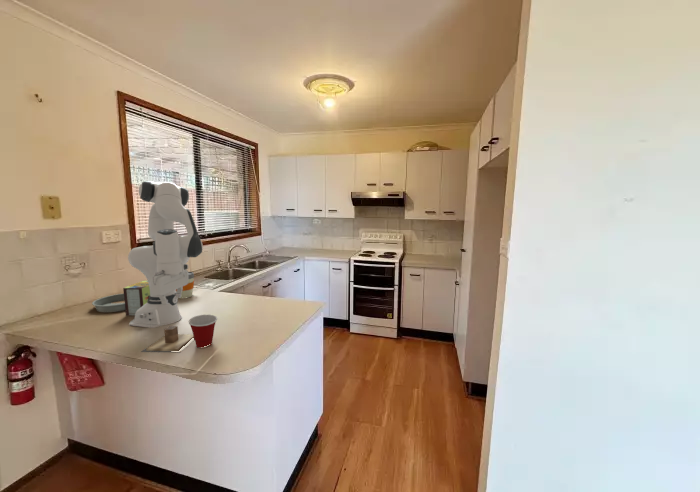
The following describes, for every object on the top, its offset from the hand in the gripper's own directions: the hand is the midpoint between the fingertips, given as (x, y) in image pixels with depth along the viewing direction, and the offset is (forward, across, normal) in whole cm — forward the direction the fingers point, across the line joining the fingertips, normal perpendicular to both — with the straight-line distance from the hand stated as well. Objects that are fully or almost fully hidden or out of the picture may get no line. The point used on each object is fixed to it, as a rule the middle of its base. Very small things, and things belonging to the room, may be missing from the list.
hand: (172, 300), depth 121 cm
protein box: (+18, +38, +40) cm, 58 cm away
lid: (+19, 0, +1) cm, 19 cm away
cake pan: (+18, +46, +60) cm, 78 cm away
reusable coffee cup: (+17, +65, +33) cm, 75 cm away
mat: (+19, 0, +1) cm, 19 cm away
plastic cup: (+20, -1, -13) cm, 24 cm away
